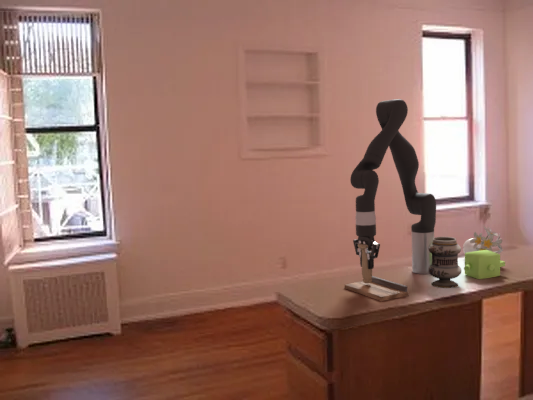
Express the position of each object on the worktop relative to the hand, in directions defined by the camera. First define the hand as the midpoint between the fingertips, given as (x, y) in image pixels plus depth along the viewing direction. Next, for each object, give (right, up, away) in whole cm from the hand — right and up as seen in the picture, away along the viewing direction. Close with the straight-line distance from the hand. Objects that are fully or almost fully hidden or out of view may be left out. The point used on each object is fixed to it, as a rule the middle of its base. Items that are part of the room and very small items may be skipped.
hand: (367, 267), depth 212 cm
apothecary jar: (+30, -7, +1) cm, 31 cm away
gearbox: (+48, -5, +12) cm, 50 cm away
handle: (0, -6, +1) cm, 6 cm away
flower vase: (+57, -2, +37) cm, 68 cm away
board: (+2, -9, -4) cm, 10 cm away
